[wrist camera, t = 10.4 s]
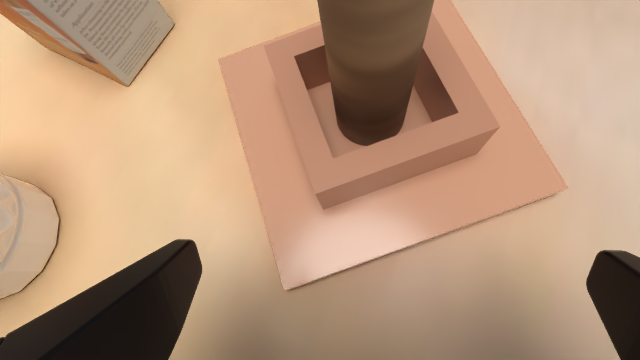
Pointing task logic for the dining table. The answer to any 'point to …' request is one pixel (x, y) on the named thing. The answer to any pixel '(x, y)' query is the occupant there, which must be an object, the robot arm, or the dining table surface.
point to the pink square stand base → (379, 151)
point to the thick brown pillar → (373, 62)
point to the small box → (95, 31)
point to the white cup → (24, 233)
